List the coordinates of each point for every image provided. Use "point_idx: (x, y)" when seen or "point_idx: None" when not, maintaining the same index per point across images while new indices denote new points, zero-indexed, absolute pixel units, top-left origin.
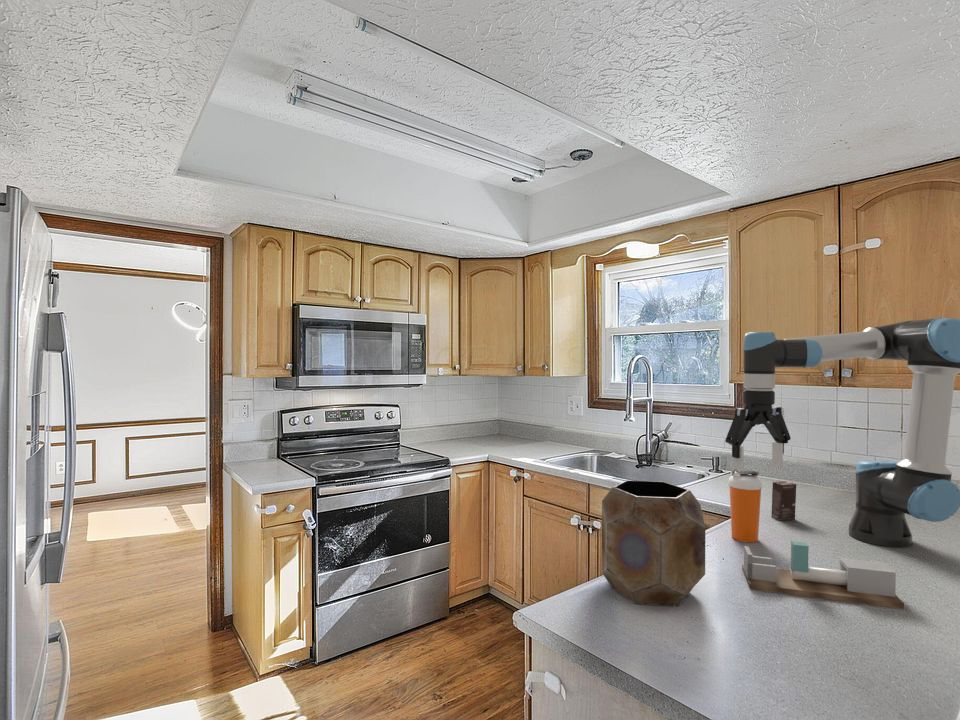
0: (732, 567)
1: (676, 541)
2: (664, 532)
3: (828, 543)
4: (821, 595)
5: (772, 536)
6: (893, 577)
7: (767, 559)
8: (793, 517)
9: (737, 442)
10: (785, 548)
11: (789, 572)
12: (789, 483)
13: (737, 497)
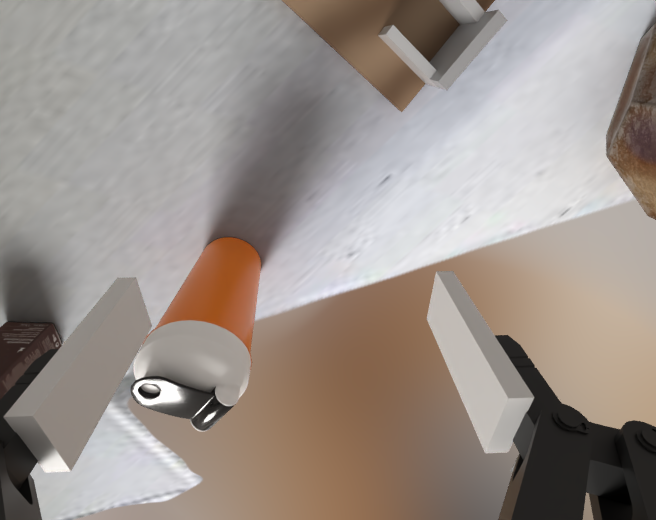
0: (410, 128)
1: None
2: None
3: (23, 172)
4: None
5: (150, 253)
6: None
7: (401, 33)
8: (8, 325)
9: (590, 439)
10: (176, 182)
11: (328, 13)
12: None
13: (248, 327)
